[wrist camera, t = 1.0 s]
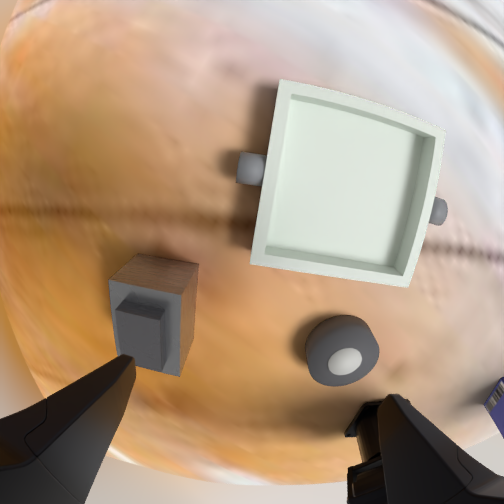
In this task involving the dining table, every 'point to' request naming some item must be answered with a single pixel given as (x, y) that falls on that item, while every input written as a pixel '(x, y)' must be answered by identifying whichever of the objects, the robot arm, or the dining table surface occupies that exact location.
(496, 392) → the cereal box
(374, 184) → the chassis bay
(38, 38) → the dining table surface
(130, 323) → the grey stepped block
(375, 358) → the spare wheel
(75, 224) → the dining table surface
